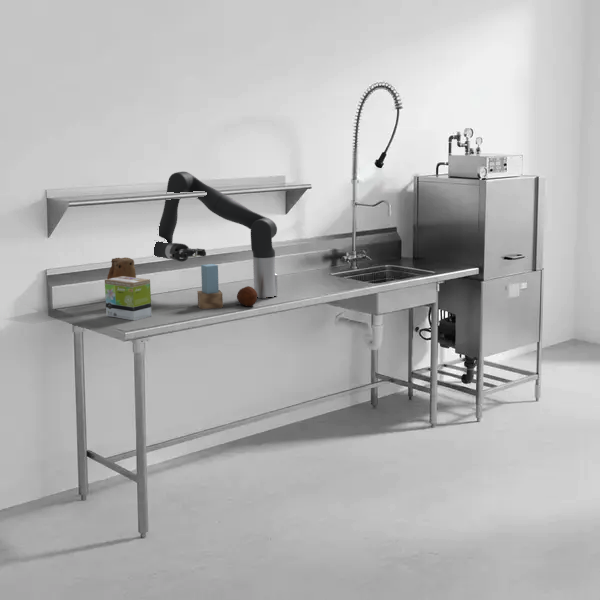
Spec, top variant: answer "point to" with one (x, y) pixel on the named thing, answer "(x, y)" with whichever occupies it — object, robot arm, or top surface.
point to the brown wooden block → (210, 300)
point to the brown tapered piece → (122, 268)
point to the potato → (247, 296)
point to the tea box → (128, 298)
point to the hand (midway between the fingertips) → (195, 254)
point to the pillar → (209, 278)
